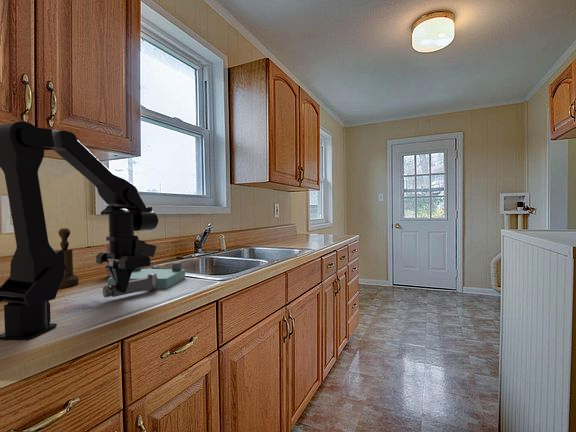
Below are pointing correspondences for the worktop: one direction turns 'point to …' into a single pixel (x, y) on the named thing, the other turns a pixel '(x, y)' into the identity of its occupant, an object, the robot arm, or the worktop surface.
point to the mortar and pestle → (67, 260)
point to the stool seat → (159, 275)
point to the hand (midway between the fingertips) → (123, 292)
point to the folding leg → (132, 286)
